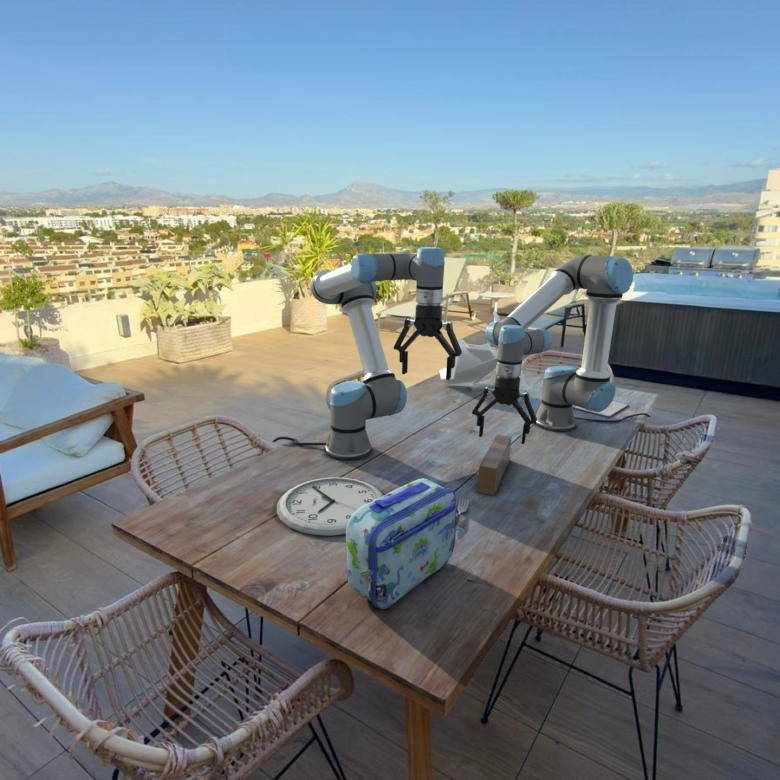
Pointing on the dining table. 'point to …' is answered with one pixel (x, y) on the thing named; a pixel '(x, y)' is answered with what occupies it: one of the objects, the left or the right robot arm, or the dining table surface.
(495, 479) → the bar
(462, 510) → the fork
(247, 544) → the dining table surface
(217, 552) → the dining table surface
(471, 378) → the white plastic object
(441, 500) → the lunch box
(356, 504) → the wall clock
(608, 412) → the invitation card
